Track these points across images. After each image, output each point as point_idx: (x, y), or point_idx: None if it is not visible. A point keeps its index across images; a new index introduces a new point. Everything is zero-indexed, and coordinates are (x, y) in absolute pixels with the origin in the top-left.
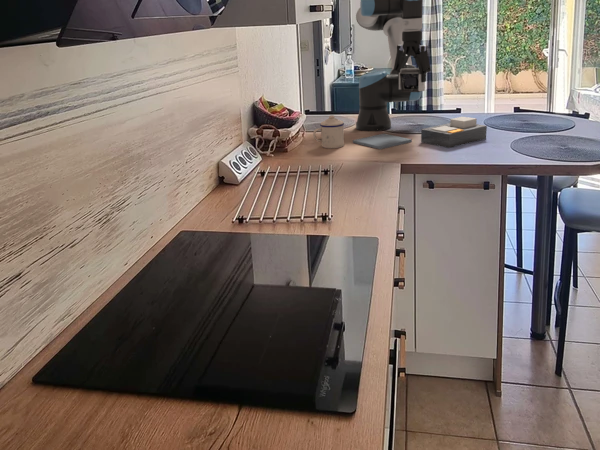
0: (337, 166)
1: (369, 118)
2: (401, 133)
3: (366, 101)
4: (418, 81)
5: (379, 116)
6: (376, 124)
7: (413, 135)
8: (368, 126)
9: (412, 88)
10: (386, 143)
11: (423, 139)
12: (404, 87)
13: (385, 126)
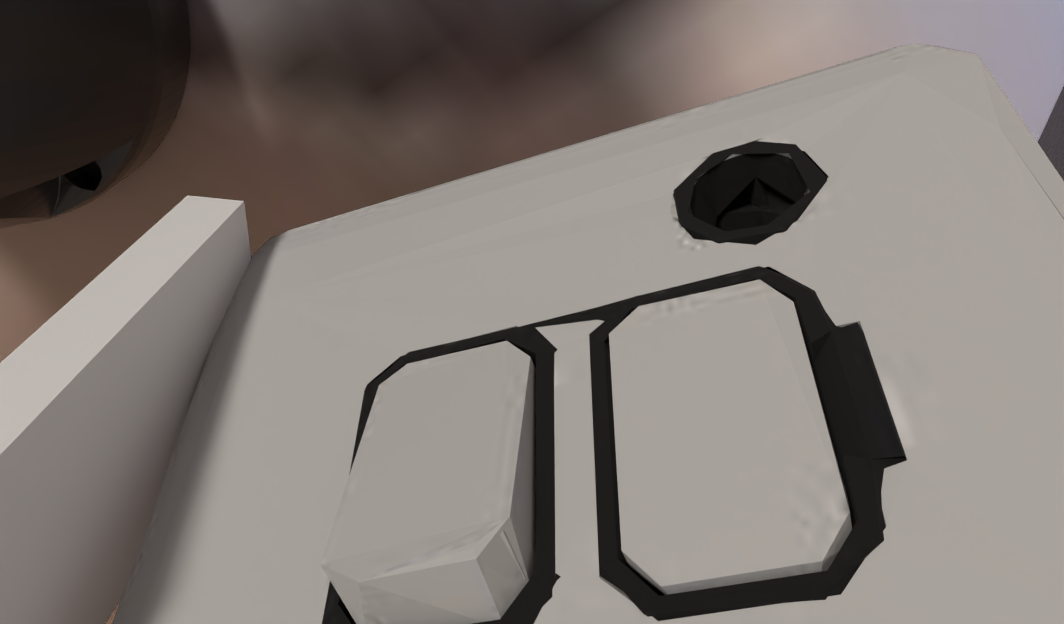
0: None
1: (12, 217)
2: (498, 66)
3: None
4: (818, 342)
5: (55, 125)
6: (122, 145)
7: (698, 79)
8: (85, 203)
9: (526, 202)
10: None
11: None
12: (284, 290)
13: (168, 21)
